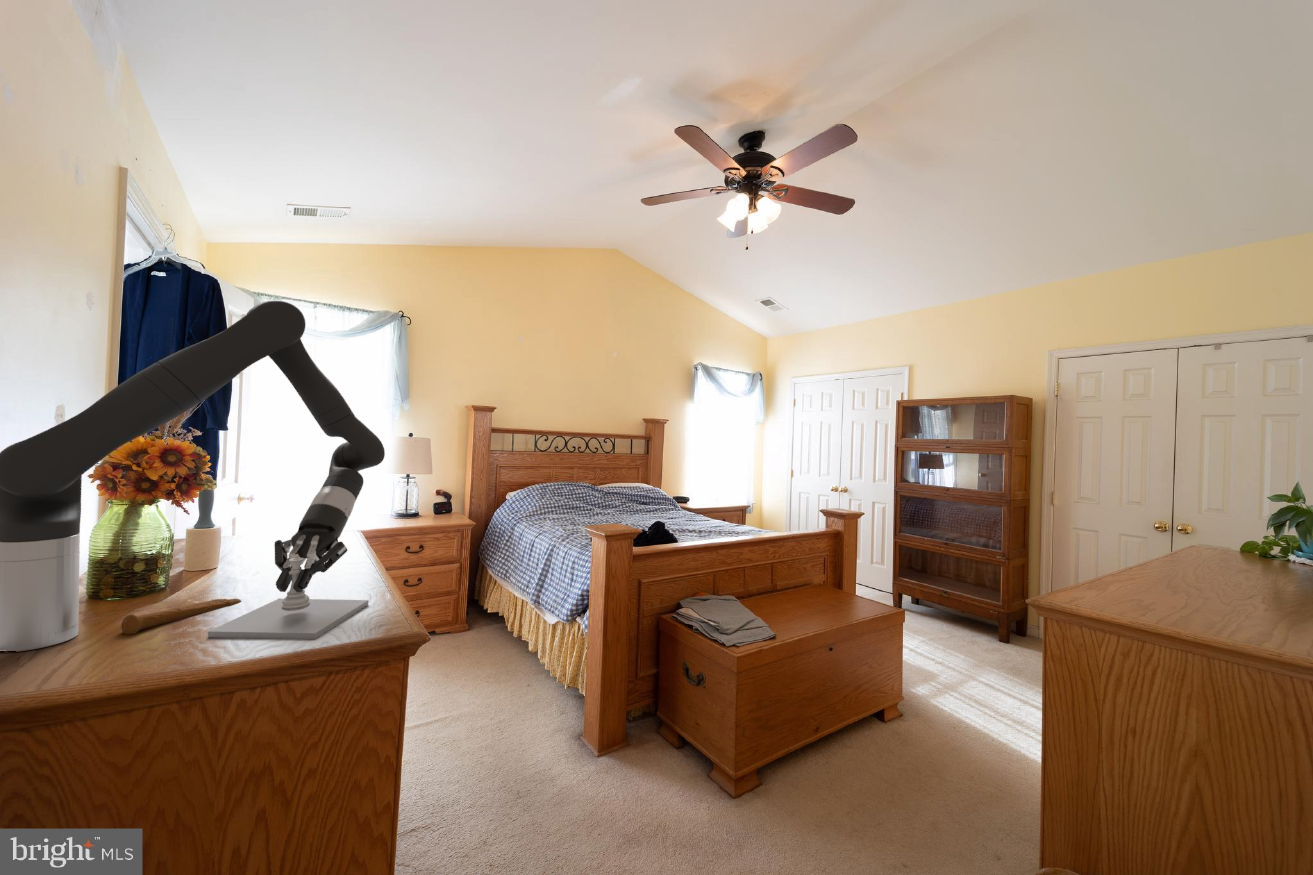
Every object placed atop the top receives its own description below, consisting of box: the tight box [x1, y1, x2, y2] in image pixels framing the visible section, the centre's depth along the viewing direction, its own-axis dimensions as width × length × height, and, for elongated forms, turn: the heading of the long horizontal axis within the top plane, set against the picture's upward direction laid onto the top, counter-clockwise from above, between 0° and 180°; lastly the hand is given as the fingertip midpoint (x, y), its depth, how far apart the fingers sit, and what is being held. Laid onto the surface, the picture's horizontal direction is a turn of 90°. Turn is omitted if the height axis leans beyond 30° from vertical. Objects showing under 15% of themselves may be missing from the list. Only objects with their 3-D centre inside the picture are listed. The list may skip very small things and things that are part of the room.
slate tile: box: [207, 598, 369, 640], centre depth 101 cm, size 18×18×1 cm
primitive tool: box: [120, 598, 242, 635], centre depth 101 cm, size 19×6×4 cm, turn 172°
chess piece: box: [282, 554, 310, 611], centre depth 101 cm, size 4×4×10 cm
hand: (289, 589), depth 99 cm, fingers closed on chess piece, 2 cm apart
